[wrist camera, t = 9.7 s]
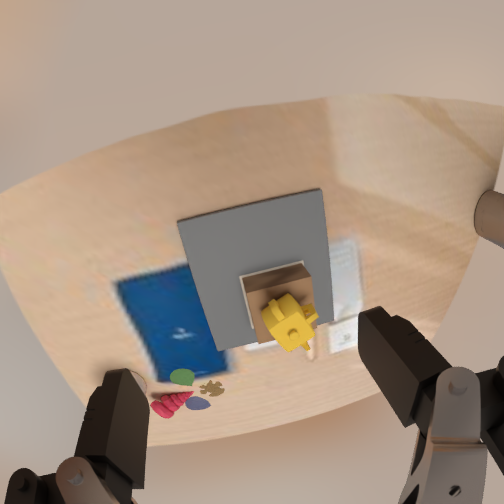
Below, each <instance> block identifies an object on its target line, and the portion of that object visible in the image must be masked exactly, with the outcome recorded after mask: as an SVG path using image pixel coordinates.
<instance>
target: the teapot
mask: <svg viewBox="0 0 504 504" xmlns="http://www.w3.org/2000/svg"><path fill="white" fill-rule="evenodd" d="M268 304H269V306H268V307H266V308H265V309H263V310H262V311H261V315H262V318H263V321H264V323H265V325H266V327H267V328H268V330H269V332H270V333H271V335H272V336H273V337H274V338H275V340H276V341H277V342H278V343H279V344H280V345H281V346H282V347H283V348H284V349H285V350H286V351H287V352H290V351H292V350H293V349H295V348H297V347H298V346H300V345H301V346H302V347H303V348H304V349H305V350H306V351H308V350H310V347H309V345H308V343H307V341H308V340H309V339H311V338H312V337H314V336H315V333H314V330H313V327H312V325H311V323H312V322H313V321H314V320H316V319H317V318H318V317H319V316H318V314H317V312H316V310H315V308H314V307H313V305H312V304H307V305H304V306H300V305H299V304H298V302H297V301H296V300H295V299H294V298H293V297H292V296H291V295H290V294H289V293H288V294H286V295H284V296H283V297H281V298H280V299H278V300H277V301H276V300H275V299H273V300H272V301H270V302H268ZM308 313H311V314H310V315H308V316H307V315H306V314H308Z"/></svg>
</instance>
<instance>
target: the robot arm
mask: <svg viewBox="0 0 504 504" xmlns="http://www.w3.org/2000/svg"><path fill="white" fill-rule="evenodd" d="M475 229H476V232H477V233H478V235H479V236H481V237H483V238H485V239H487V240H489V241H491V242H493V243H494V244H496V245H498V246H500V247H502V248H503V249H504V194H501V193H498V192H496V191H492V190H490V191H487V192H485V193H484V194H483V195H482V197H481V198H480V200H479V202H478V205H477V208H476V212H475ZM358 351H359V355H360V358H361V360H362V362H363V363H364V365H365V366H366V368H367V369H368V371H369V373H370V374H371V376H372V377H373V379H374V380H375V382H376V383H377V385H378V386H379V388H380V389H381V391H382V392H383V394H384V396H385V397H386V399H387V400H388V402H389V404H390V405H391V407H392V408H393V410H394V411H395V413H396V415H397V416H398V418H399V419H400V421H401V423H402V424H403V426H404V427H405V428H406V427H408V426H410V425H412V424H414V423H416V424H417V426H418V428H419V430H418V433H417V439H416V444H415V448H414V453H413V458H412V462H411V466H410V470H409V474H408V478H407V481H406V484H405V486H404V488H403V491H402V493H401V496H400V499H399V502H398V504H482V499H483V492H484V485H485V476H486V466H487V449H488V450H489V452H490V454H491V455H492V457H493V458H494V460H495V462H496V463H497V465H498V467H499V468H500V470H501V472H502V473H503V475H504V356H503V357H502V358H501V359H500V361H499V364H498V366H497V368H494V369H490V370H487V371H483V372H480V373H474V372H472V371H471V370H469V369H467V368H464V367H452V366H451V365H450V364H449V363H448V362H447V361H446V359H444V357H443V356H442V355H441V354H440V353H439V352H438V351H437V350H436V349H435V348H434V346H432V344H431V343H430V342H429V341H428V340H427V339H425V337H424V336H423V335H422V334H421V333H420V332H418V330H417V329H416V328H415V327H414V326H413V324H412V323H411V322H410V321H408V320H406V319H404V318H402V317H400V316H398V315H395V316H393V317H391V316H390V315H389V314H388V313H387V312H386V311H385V310H384V309H383V308H382V307H381V306H378V307H375V308H372V309H369V310H366V311H363V312H360V313H359V316H358ZM86 410H87V411H86V412H85V416H84V421H83V423H82V427H81V430H80V434H79V438H78V442H77V446H76V450H75V455H74V457H71V458H68V459H66V460H64V461H63V462H62V463H61V464H60V465H59V467H58V469H57V472H56V473H52V474H48V475H43V476H37V475H36V474H35V473H34V472H33V471H31V470H30V469H27V468H21V469H18V470H17V471H15V472H14V473H13V475H12V476H11V478H10V480H9V484H8V488H7V493H6V498H5V503H4V504H137V502H136V501H135V499H134V498H133V497H132V489H144V478H145V461H146V448H147V435H148V424H149V414H150V409H149V403H148V400H147V398H146V396H145V394H144V393H143V391H142V390H141V388H140V386H139V385H138V383H137V382H136V380H135V378H134V377H133V375H132V373H131V372H130V371H129V370H128V369H126V368H125V369H119V370H111V371H107V372H106V373H105V376H104V380H103V383H102V386H99V387H97V388H96V390H95V391H94V392H93V394H92V395H91V396H90V398H89V402H88V405H87V408H86ZM480 438H481V439H482V441H483V443H482V442H481V441H480Z"/></svg>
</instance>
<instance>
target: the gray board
mask: <svg viewBox="0 0 504 504" xmlns="http://www.w3.org/2000/svg"><path fill="white" fill-rule="evenodd" d="M177 225H178V229H179V232H180V236H181V239H182V242H183V246H184V249H185V253H186V256H187V259H188V262H189V266H190V269H191V272H192V275H193V279H194V282H195V285H196V288H197V291H198V294H199V297H200V300H201V303H202V306H203V309H204V312H205V315H206V318H207V321H208V324H209V327H210V330H211V333H212V336H213V339H214V342H215V344H216V347H217V350H218V351H221V350H226V349H230V348H234V347H238V346H243V345H247V344H251V343H255V342H258V340H257V337H256V333H255V329H254V326H253V322H252V318H251V313H250V309H249V305H248V301H247V297H246V293H245V289H244V285H243V280H242V278H244V277H248V276H252V275H256V274H260V273H264V272H268V271H272V270H276V269H280V268H284V267H288V266H292V265H296V264H299V263H302V264H303V266H304V267H305V268H306V270H307V271H308V272H309V274H310V275H311V277H312V286H313V295H314V304H315V310H316V312H317V314H318V316H319V317H318V318H317V319H316V324H317V325H320V324H323V323H327V322H330V321H333V320H334V311H333V295H332V281H331V269H330V258H329V247H328V237H327V228H326V219H325V211H324V203H323V195H322V190H321V189H316V190H311V191H306V192H301V193H296V194H292V195H287V196H282V197H278V198H273V199H269V200H264V201H260V202H255V203H251V204H246V205H242V206H238V207H234V208H229V209H225V210H221V211H217V212H213V213H209V214H205V215H201V216H197V217H193V218H189V219H185V220H181V221H177Z"/></svg>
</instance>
